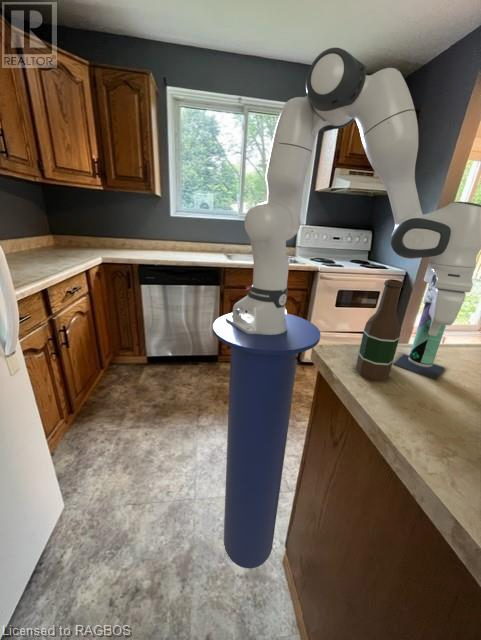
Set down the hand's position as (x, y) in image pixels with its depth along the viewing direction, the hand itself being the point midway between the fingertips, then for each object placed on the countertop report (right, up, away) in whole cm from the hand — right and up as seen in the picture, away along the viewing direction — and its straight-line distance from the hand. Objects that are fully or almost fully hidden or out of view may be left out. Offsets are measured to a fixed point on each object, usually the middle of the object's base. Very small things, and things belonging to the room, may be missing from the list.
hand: (430, 330), depth 69 cm
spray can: (0, -9, +3) cm, 9 cm away
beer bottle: (-15, -11, 0) cm, 19 cm away
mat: (0, -10, +5) cm, 11 cm away
